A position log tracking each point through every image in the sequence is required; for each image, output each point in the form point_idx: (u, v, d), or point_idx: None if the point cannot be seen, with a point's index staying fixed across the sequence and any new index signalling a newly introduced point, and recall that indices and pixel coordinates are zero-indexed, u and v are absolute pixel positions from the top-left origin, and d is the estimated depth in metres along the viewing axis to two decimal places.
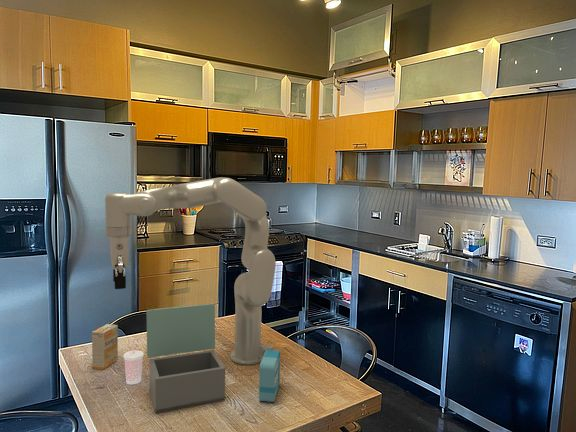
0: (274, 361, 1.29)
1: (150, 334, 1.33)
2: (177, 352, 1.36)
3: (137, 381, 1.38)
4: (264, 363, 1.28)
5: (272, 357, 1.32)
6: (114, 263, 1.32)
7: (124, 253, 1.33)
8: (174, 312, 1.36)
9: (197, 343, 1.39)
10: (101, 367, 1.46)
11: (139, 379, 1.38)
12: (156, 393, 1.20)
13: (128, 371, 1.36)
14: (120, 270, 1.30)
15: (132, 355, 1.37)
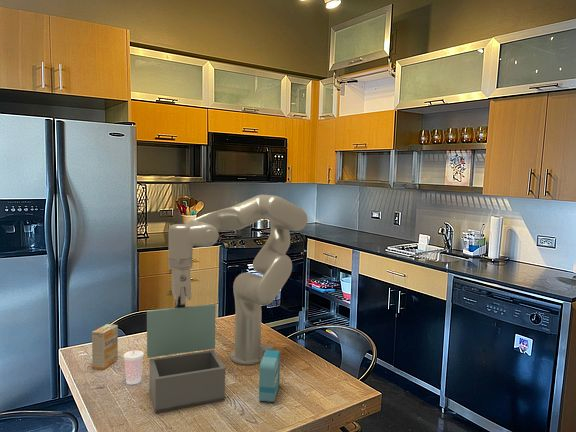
0: (274, 361, 1.29)
1: (150, 335, 1.32)
2: (177, 352, 1.36)
3: (137, 381, 1.38)
4: (264, 363, 1.28)
5: (272, 357, 1.32)
6: (176, 299, 1.35)
7: (187, 285, 1.34)
8: (175, 313, 1.35)
9: (197, 344, 1.39)
10: (101, 367, 1.46)
11: (139, 379, 1.38)
12: (156, 393, 1.20)
13: (128, 371, 1.36)
14: (181, 304, 1.36)
15: (132, 355, 1.37)
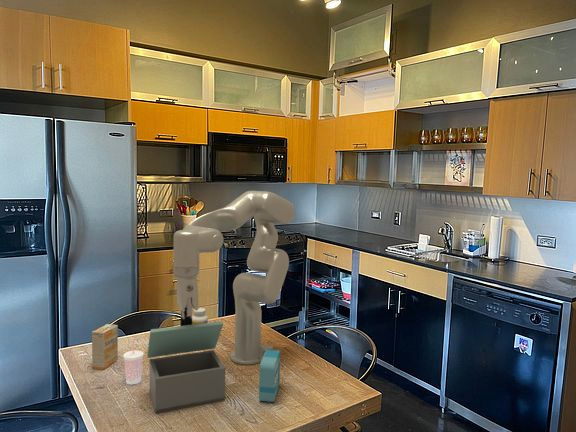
0: (274, 361, 1.29)
1: (152, 345, 1.28)
2: (177, 353, 1.36)
3: (137, 381, 1.38)
4: (264, 363, 1.28)
5: (272, 357, 1.32)
6: (183, 311, 1.27)
7: (194, 295, 1.26)
8: (179, 331, 1.27)
9: (198, 347, 1.37)
10: (101, 367, 1.46)
11: (139, 379, 1.38)
12: (156, 393, 1.20)
13: (128, 371, 1.36)
14: (188, 316, 1.27)
15: (132, 355, 1.37)
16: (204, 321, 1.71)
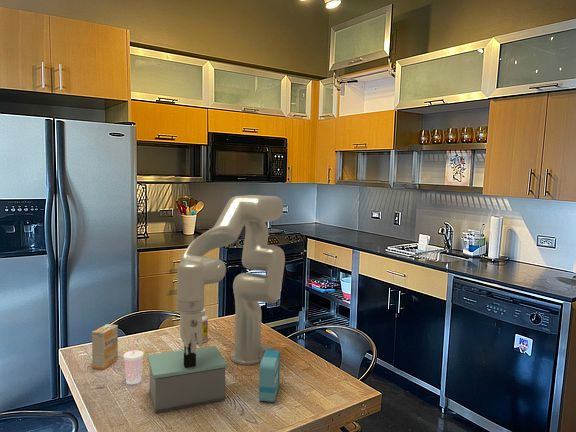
0: (274, 361, 1.29)
1: None
2: None
3: (137, 381, 1.38)
4: (264, 363, 1.28)
5: (272, 357, 1.32)
6: (186, 346, 1.21)
7: (198, 330, 1.20)
8: None
9: None
10: (101, 367, 1.46)
11: (139, 379, 1.38)
12: (156, 393, 1.20)
13: (128, 371, 1.36)
14: None
15: (132, 355, 1.37)
16: (204, 321, 1.71)
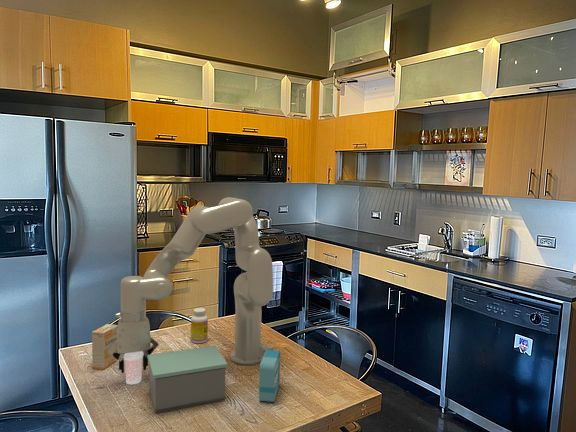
0: (274, 361, 1.29)
1: None
2: None
3: (137, 381, 1.38)
4: (264, 363, 1.28)
5: (272, 357, 1.32)
6: None
7: None
8: None
9: None
10: (101, 367, 1.46)
11: (139, 379, 1.38)
12: (156, 393, 1.20)
13: (128, 371, 1.36)
14: None
15: (132, 355, 1.37)
16: (204, 321, 1.71)
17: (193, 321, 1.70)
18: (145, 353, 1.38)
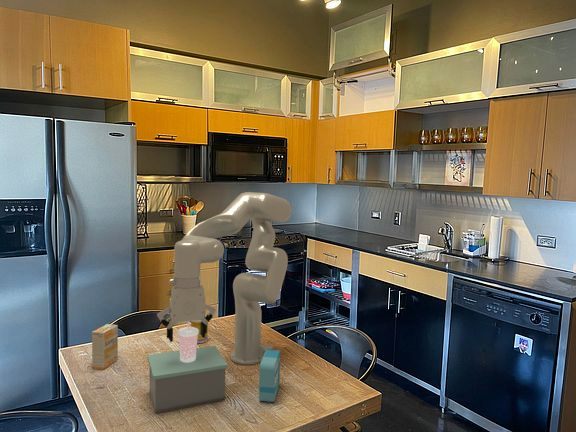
0: (274, 361, 1.29)
1: None
2: None
3: (192, 359, 1.29)
4: (264, 363, 1.28)
5: (272, 357, 1.32)
6: None
7: (170, 305, 1.25)
8: None
9: None
10: (101, 367, 1.46)
11: (194, 357, 1.29)
12: (156, 393, 1.20)
13: (184, 348, 1.27)
14: (160, 320, 1.26)
15: (187, 331, 1.28)
16: None
17: (193, 321, 1.70)
18: (204, 320, 1.30)
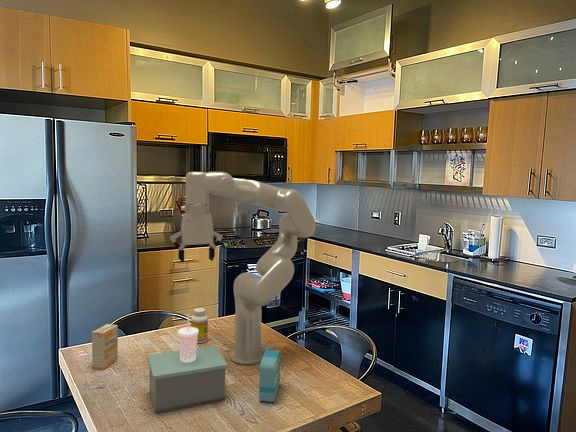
0: (274, 361, 1.29)
1: None
2: None
3: (192, 359, 1.29)
4: (264, 363, 1.28)
5: (272, 357, 1.32)
6: None
7: (182, 228, 1.39)
8: None
9: None
10: (101, 367, 1.46)
11: (194, 357, 1.29)
12: (156, 393, 1.20)
13: (184, 348, 1.27)
14: (172, 242, 1.40)
15: (187, 331, 1.28)
16: (204, 321, 1.71)
17: (193, 321, 1.70)
18: (212, 244, 1.44)
